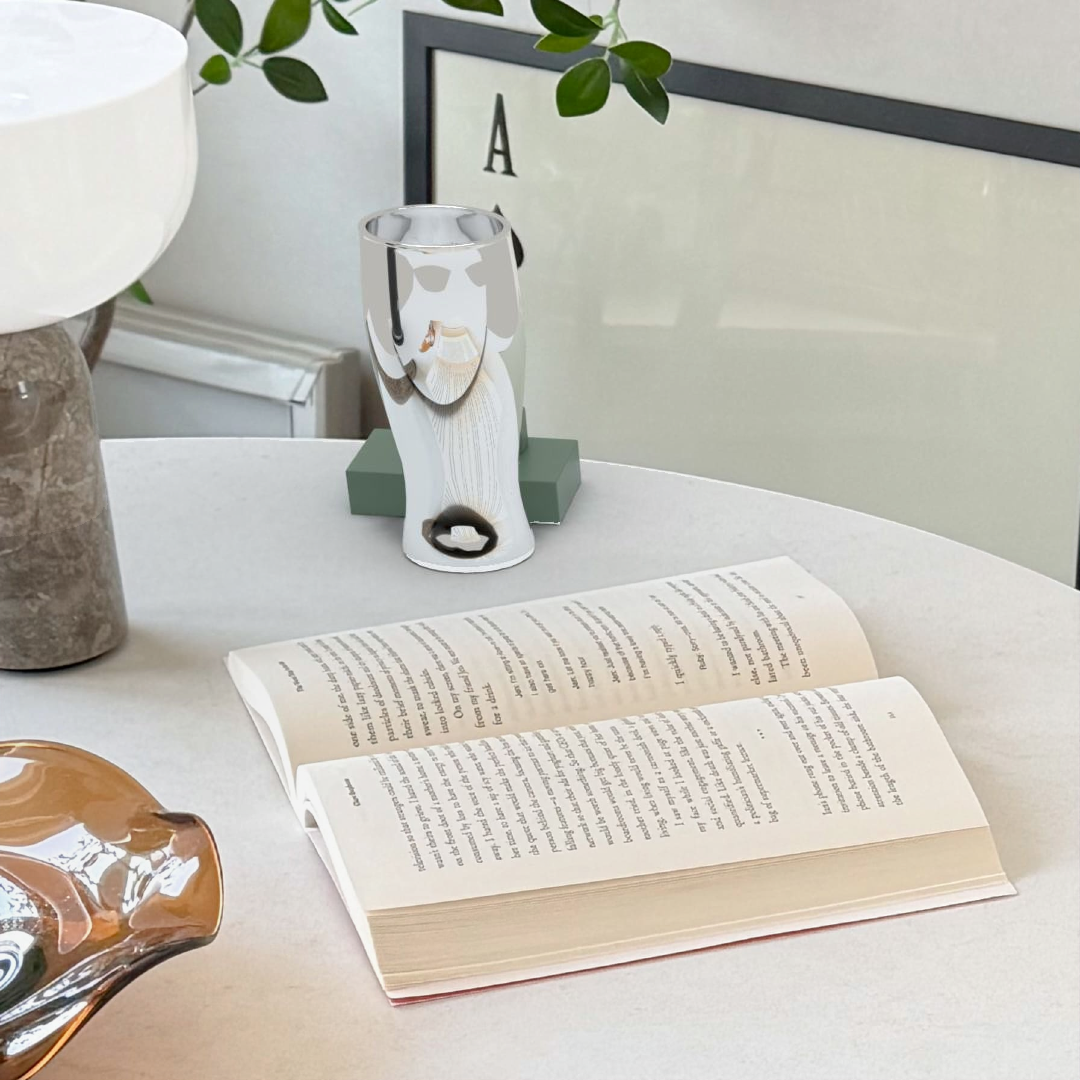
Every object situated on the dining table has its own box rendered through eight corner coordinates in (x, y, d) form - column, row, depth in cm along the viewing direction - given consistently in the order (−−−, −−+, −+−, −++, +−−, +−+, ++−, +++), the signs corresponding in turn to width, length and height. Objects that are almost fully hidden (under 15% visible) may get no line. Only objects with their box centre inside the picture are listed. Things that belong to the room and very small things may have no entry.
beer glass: (409, 585, 128) (368, 251, 119) (380, 530, 133) (339, 206, 124) (560, 569, 131) (531, 242, 122) (526, 516, 136) (496, 198, 127)
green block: (350, 514, 134) (339, 433, 132) (384, 463, 140) (374, 384, 138) (560, 526, 135) (553, 445, 133) (585, 474, 141) (578, 396, 138)
